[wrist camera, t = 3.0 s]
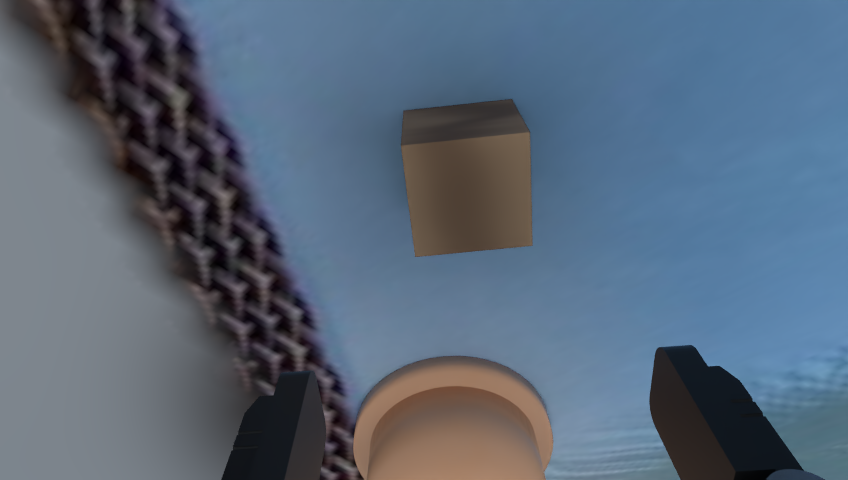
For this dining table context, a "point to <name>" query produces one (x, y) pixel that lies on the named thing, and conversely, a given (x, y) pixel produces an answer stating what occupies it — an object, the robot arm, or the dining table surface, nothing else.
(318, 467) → the robot arm
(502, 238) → the walnut block
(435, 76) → the dining table surface
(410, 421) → the upside-down peach bowl
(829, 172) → the dining table surface
